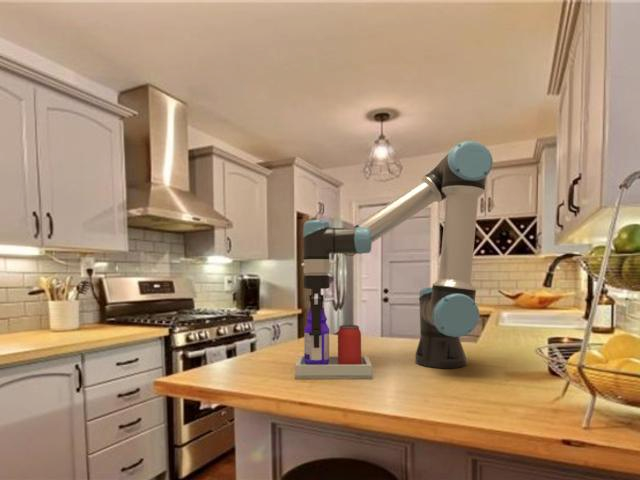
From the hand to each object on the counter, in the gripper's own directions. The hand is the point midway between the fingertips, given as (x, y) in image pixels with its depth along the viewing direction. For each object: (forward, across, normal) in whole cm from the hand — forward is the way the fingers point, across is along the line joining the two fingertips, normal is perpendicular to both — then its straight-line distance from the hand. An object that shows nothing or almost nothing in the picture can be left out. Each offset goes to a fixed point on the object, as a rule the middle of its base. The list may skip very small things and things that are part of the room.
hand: (317, 356), depth 115 cm
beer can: (+4, 0, +9) cm, 10 cm away
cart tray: (+5, 0, +5) cm, 7 cm away
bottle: (+3, 0, 0) cm, 3 cm away
